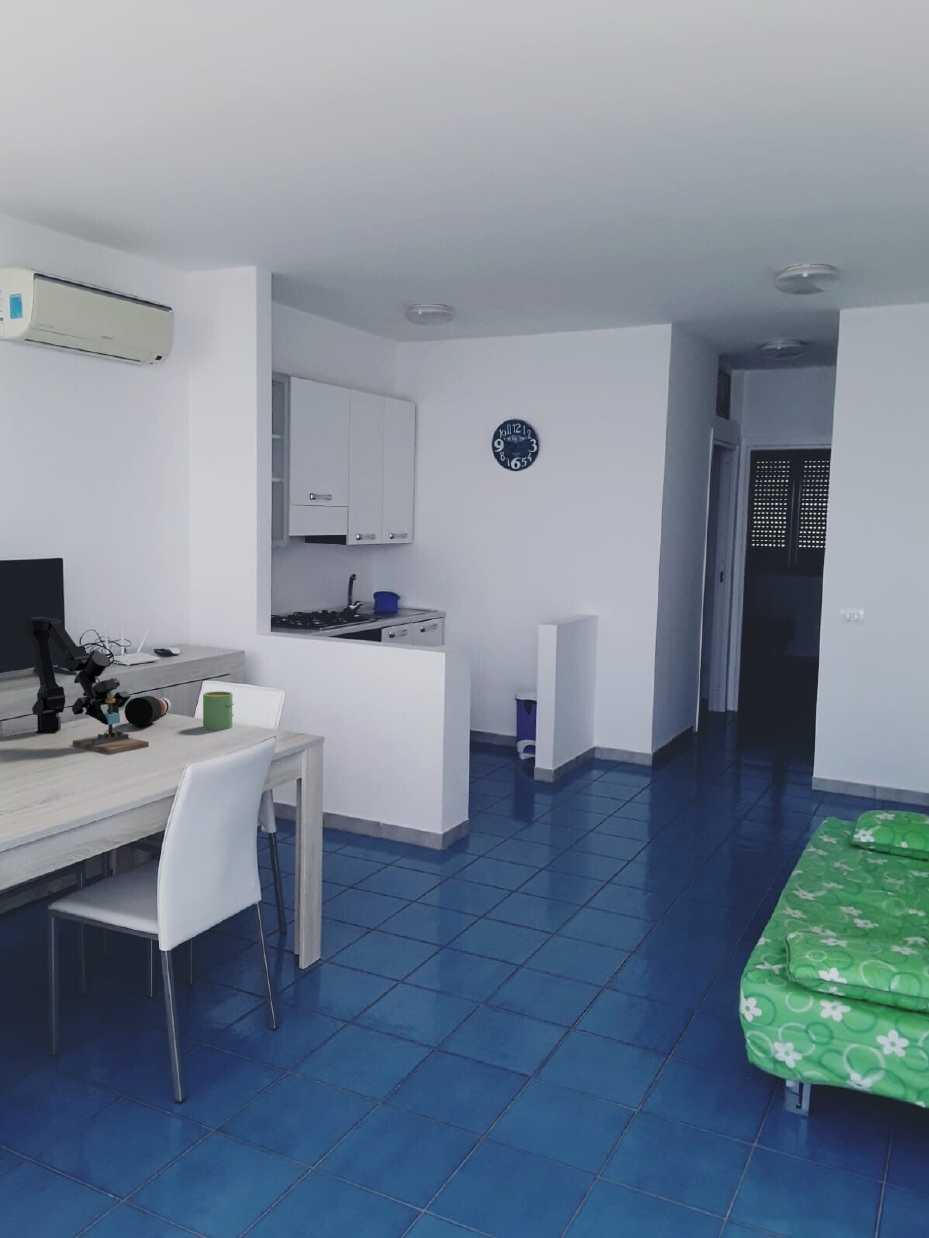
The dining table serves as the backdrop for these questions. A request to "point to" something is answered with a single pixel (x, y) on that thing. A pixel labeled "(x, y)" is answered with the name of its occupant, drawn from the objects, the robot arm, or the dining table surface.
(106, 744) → the wooden base post stand
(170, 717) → the dining table surface
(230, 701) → the mug
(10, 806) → the dining table surface
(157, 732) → the dining table surface
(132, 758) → the dining table surface
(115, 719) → the sleeve
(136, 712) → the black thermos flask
